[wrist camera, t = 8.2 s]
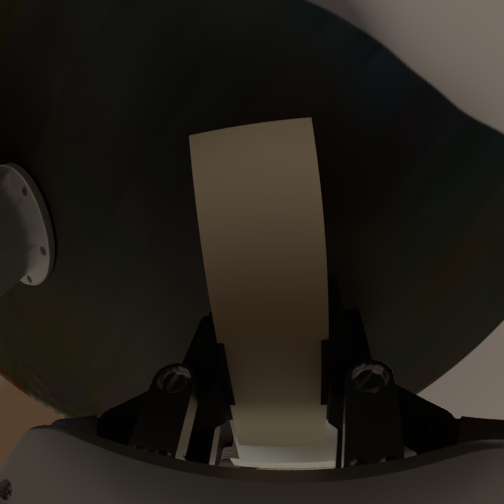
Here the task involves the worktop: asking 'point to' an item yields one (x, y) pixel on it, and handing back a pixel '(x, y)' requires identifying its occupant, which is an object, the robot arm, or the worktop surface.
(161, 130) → the worktop surface
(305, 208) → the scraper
